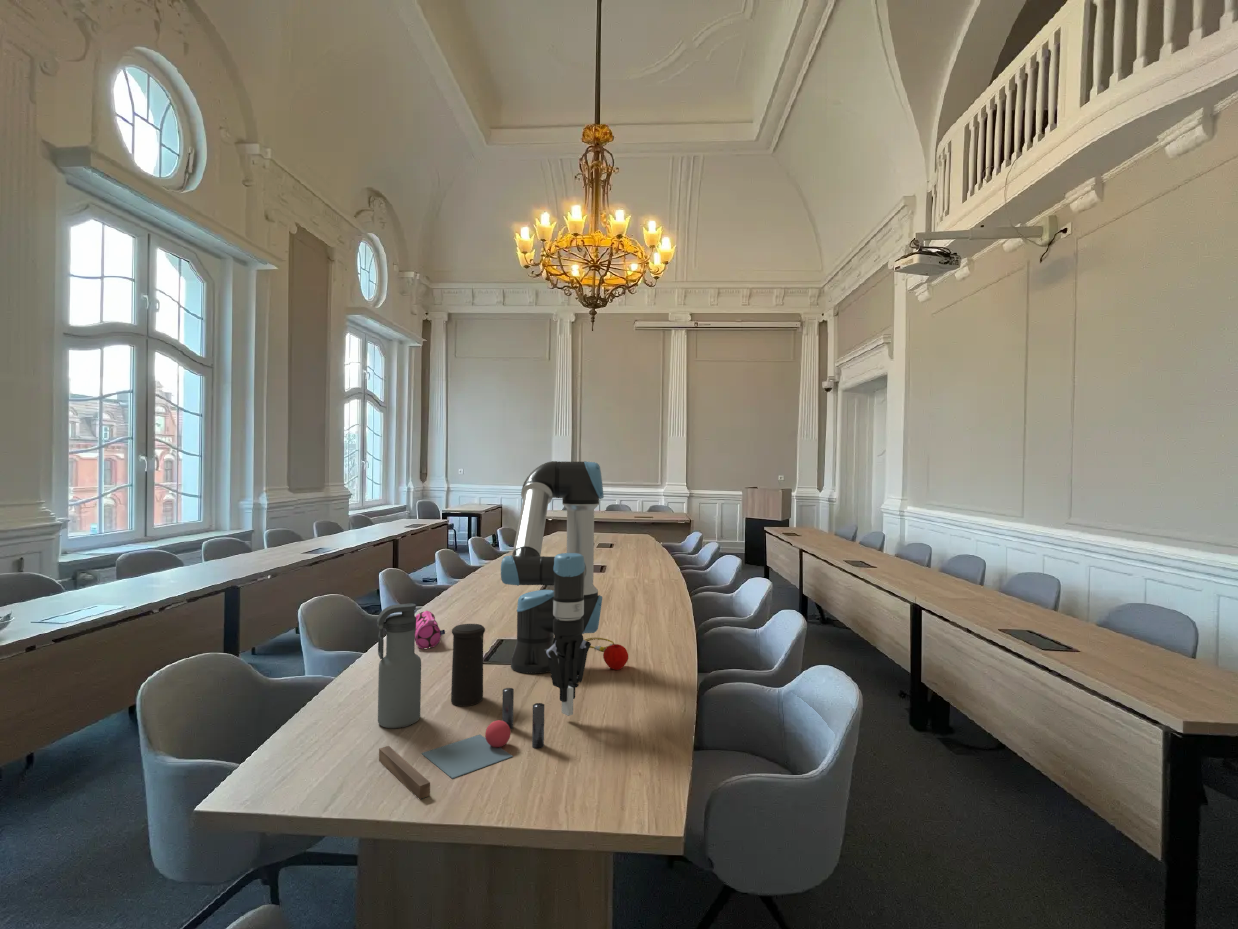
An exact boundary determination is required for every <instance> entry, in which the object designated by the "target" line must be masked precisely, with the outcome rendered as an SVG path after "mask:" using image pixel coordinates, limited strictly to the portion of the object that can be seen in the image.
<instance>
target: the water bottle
mask: <svg viewBox="0 0 1238 929" xmlns="http://www.w3.org/2000/svg"><path fill="white" fill-rule="evenodd" d="M415 610H417V604H415V603H401V604H392V605H389V606H387V607H384V609H382V610H381V611H380V613H379V614H378V617H377V620H376V625H377V628H378V638H377V642H378V643H377V654H378V657H379V659H380V661H379V663H378V682H377V683H378V687H377V691H378V692H377V693H378V694H377V723H378V724H379V725H380V726H381V727H384V728H387V729H401V727H402V728H405V727H408V726H409V727H410V726H412V725H413V724H416V723H417V722H418V721H419V719H420V717H421V697H422V696H421V695H422V694H421V693H422V692H421V691H422V690H421V689H422V658H421V657H420V656H419V655H418V654H417V653H415V646H416V645H415V644H416V642H415V630H416V615H415V614H416V613H415ZM396 613H399V614H396ZM392 614H395V615H392ZM384 629H385V633H386V638H385V639H386V641H384ZM384 642H385V643H386V644H385V647H384ZM384 648H386V649H385V650H386V652H385V653H386V654H385V656H384ZM411 724H412V725H411Z"/></svg>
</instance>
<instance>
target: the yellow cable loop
mask: <svg viewBox="0 0 1238 929" xmlns="http://www.w3.org/2000/svg"><path fill="white" fill-rule="evenodd" d="M593 639H594V640H595V639H598V640H599V641H606V642H609V645H607V646H601V645H595V646H592V645H591V646H590V648H592V649H594V650H595V651H599V652H603V653H604V651H605V649H606V648H607V647H608V646H610V645H613V644H615V643H614V641H612V640H611V639H607V638H603V637H589V638H585V639H584V640H585V641H588V642H589V641H592V640H593ZM590 648H589V649H590Z"/></svg>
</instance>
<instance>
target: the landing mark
mask: <svg viewBox="0 0 1238 929" xmlns="http://www.w3.org/2000/svg"><path fill="white" fill-rule="evenodd" d="M421 754H422V755H423V756H424V757H425V758H426V759H427V760H428V761H430V762H431V763H432V764H433V765H435V766H436V767H437V768H438V769H439V770H441V771H442V772H443V773H444V774H446V775H447V776H448V777H449V778H450V779H452V780H453V779H455V778H459V777H461V776H463V775H467V774H469V773H472V772H475V771H477V770H478V771H479V770H480V769H483V768H486V767H489V766H492V765H495V764H497V763H500V762H503V761H506V760H508V759H511V758H513V757H514V756H513V755H512V754H511V753H509V752H508V751H506V750H504V749H503V748H502V747H492V746H491V745H489V744H488V742H487V741H486V737H485V736H483V735H482V734H477V735H474V736H471V737H467V738H465V739H461V740H459V741H455V742H452V743H449V744H445V745H443V746H439V747H435V748H434V749H430V750H426V751H424V752H421Z"/></svg>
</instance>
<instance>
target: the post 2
mask: <svg viewBox="0 0 1238 929" xmlns="http://www.w3.org/2000/svg"><path fill="white" fill-rule="evenodd" d="M531 731H532V734H531V735H532V736H531V737H532V738H531V739H532V740H531V747H532V748H533V749H537V750H540V749H542V748H544V746H545V704H544V703H542V702H538V703H534V704H532V730H531Z"/></svg>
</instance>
